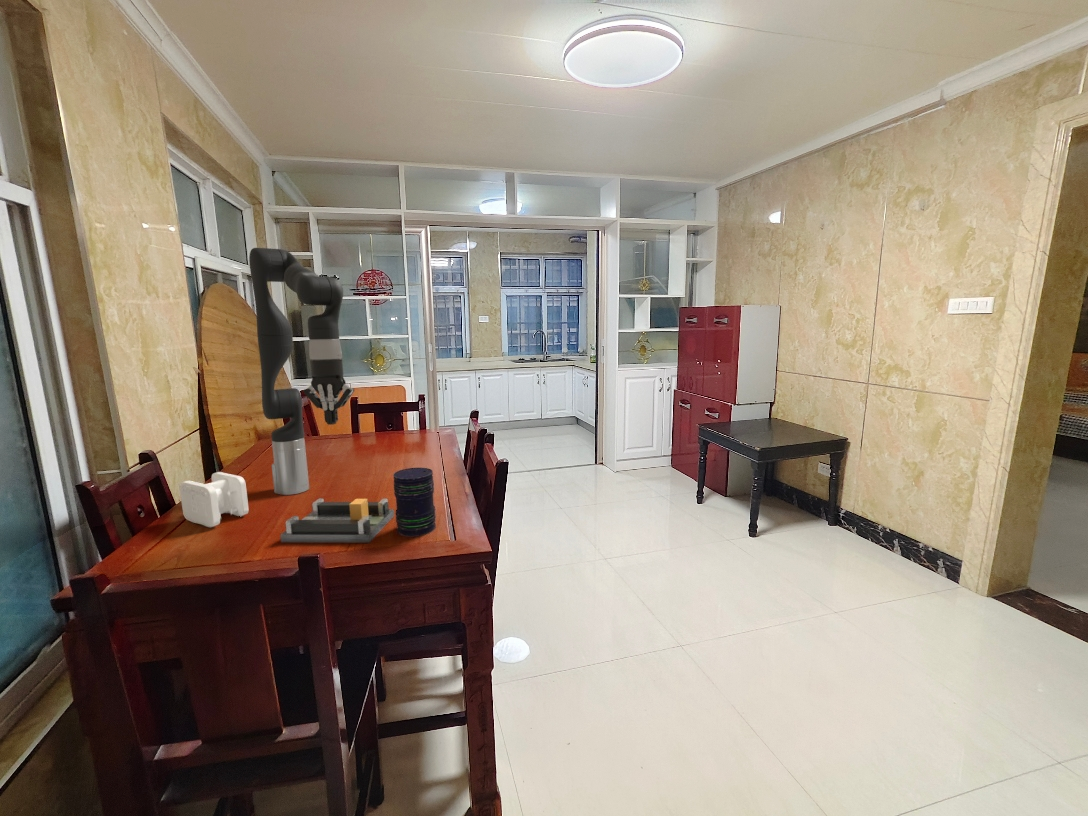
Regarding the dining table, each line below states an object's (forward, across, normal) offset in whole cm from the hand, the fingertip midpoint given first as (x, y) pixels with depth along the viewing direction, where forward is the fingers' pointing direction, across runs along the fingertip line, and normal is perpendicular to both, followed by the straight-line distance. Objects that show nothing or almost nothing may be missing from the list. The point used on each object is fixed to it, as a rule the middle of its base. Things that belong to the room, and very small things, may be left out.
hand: (332, 424), depth 126 cm
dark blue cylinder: (+27, +22, -4) cm, 35 cm away
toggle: (+25, +7, -4) cm, 26 cm away
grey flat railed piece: (+27, +2, -4) cm, 27 cm away
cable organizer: (+27, -36, +2) cm, 45 cm away
